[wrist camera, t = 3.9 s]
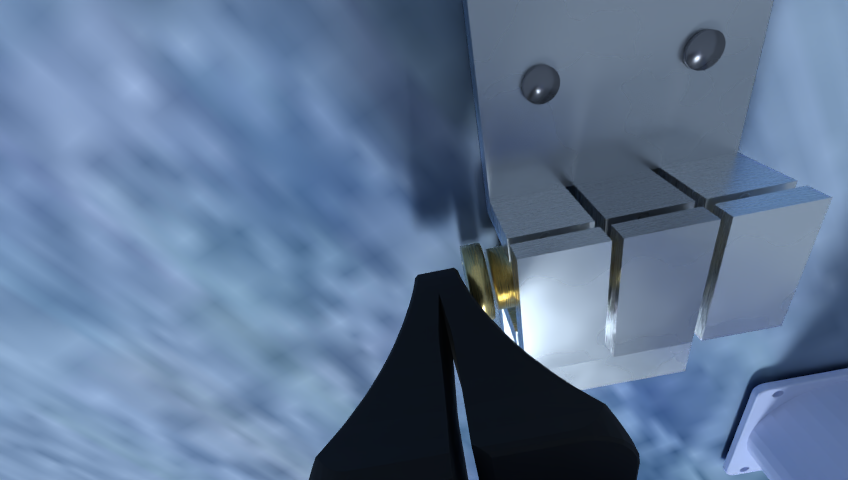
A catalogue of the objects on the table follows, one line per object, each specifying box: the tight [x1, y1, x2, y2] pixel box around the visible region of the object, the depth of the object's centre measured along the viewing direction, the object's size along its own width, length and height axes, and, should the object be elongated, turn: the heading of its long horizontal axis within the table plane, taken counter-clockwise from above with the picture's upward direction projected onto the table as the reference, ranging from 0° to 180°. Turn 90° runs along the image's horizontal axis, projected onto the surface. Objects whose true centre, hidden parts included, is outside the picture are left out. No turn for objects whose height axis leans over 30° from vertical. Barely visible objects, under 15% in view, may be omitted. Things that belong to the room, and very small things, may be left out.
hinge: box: [462, 0, 832, 390], centre depth 13 cm, size 8×16×4 cm, turn 11°
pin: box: [460, 243, 515, 320], centre depth 13 cm, size 9×2×2 cm, turn 101°
